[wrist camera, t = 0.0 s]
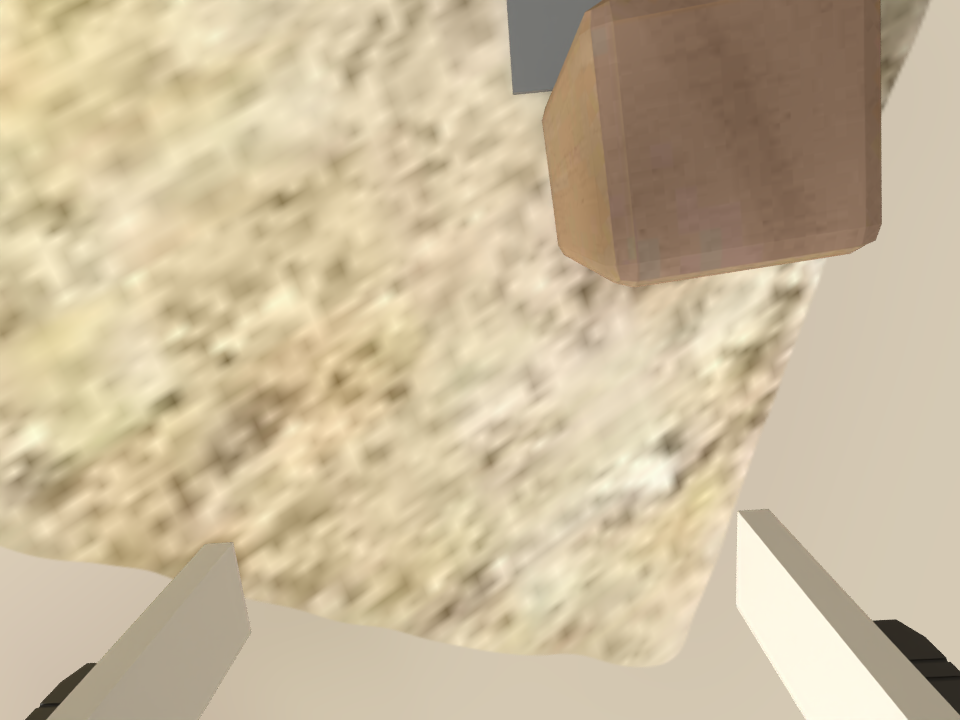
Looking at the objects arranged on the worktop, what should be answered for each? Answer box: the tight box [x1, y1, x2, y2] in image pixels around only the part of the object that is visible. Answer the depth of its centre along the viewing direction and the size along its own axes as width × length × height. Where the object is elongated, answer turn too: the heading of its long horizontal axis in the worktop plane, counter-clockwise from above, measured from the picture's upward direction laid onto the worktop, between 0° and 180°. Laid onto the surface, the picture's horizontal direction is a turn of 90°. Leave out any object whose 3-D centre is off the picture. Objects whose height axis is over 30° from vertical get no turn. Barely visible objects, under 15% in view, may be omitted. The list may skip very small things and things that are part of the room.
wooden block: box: [542, 0, 882, 287], centre depth 30 cm, size 10×10×20 cm
